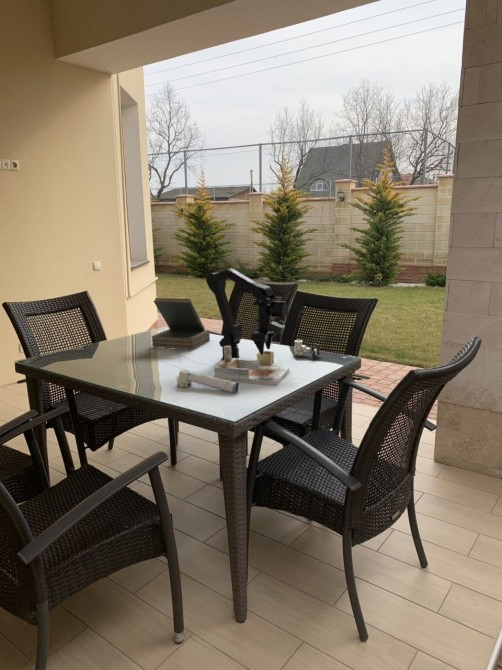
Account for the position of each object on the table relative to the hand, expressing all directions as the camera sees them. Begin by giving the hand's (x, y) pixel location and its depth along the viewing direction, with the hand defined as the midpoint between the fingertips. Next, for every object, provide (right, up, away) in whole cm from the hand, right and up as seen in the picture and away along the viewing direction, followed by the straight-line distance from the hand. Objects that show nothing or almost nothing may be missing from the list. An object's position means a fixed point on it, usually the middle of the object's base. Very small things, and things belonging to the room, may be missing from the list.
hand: (265, 351), depth 210 cm
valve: (+19, -3, +11) cm, 22 cm away
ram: (-15, -7, -13) cm, 21 cm away
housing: (0, -5, +1) cm, 5 cm away
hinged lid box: (-42, +2, +41) cm, 58 cm away
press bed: (-6, -9, -15) cm, 19 cm away
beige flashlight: (-22, -13, -29) cm, 39 cm away
